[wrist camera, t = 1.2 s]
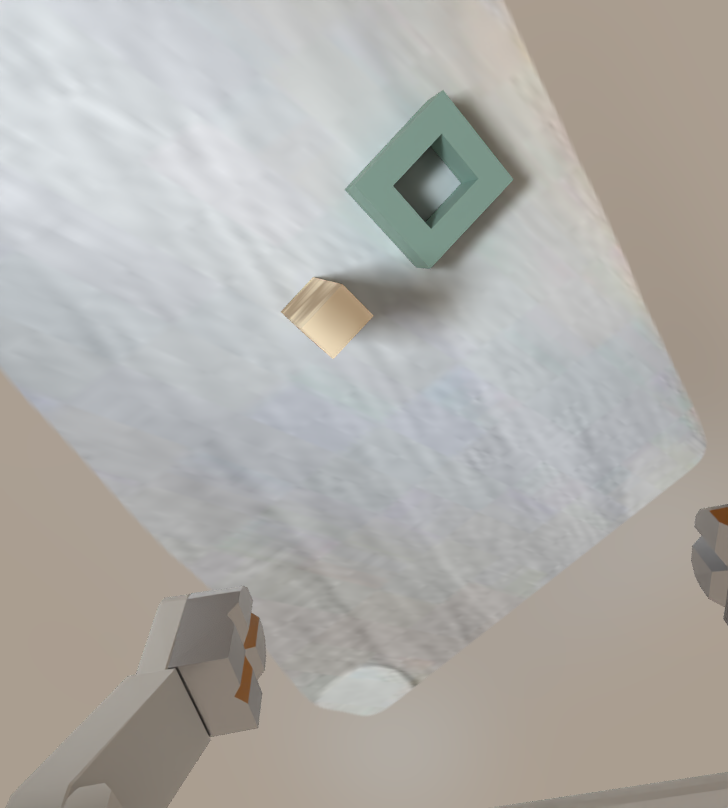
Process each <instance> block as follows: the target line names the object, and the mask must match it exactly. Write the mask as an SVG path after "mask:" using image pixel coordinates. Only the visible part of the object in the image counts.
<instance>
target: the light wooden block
mask: <svg viewBox="0 0 728 808" xmlns="http://www.w3.org/2000/svg"><path fill="white" fill-rule="evenodd" d="M281 312H282V313H283V314H284V315H285V316H286V317H287V318H288V319H289V320H290V321H291V322H292V323H293V324H294V325H295V326H296V327H297V328H299V329H300V330H301V331H302V332H303V333H304V334H305V335H306V336H307V337H308V338H309V339H311V340H312V341H313V342H314V343H315V344H316V345H317V346H319V347H320V348H321V349H322V350H323V351H324V352H326V353H327V354H328V355H329V356H330V357H331V358H333V359H334V358H335V357H336V356H337V355H338V353H339V352H340V351H341V350H342V349H343V348H344V347H345V346H346V345H347V344H348V343H349V342H350V341H351V340H352V338H353V337H354V336H355V335H356V334H357V333H358V332H359V331H360V330H361V329H362V328H363V327H364V326H365V325H366V323H367V322H368V321H369V320H370V319H371V318H372V317H373V315H372V314H371V313H370V312H369V311H368V310H367V309H366V308H365V306H364V305H363V304H362V303H361V302H360V301H359V300H358V299H357V298H356V297H355V296H354V295H353V294H352V293H351V292H350V291H349V290H348V289H347V288H346V287H345V286H344V285H343V284H339V283H335V282H331V281H327V280H323V279H318V278H314V277H313V278H312V279H311V280H310V281H309V282H308V283H307V284H306V285H305V286H304V287H303V289H302V290H301V291H300V292H299V293H298V294H297V295H296V296H295V297H294V298H293V299H292V300H291V301H290V302H289V304H288V305H287V306H286V307H285V308H284V309H283V310H282V311H281Z"/></svg>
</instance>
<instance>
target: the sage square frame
mask: <svg viewBox="0 0 728 808" xmlns="http://www.w3.org/2000/svg"><path fill="white" fill-rule="evenodd" d="M430 146H431V147H432V148H433V150H434V151H435V152H436V153H437V154H438V156H439V157H440V158H441V159H442V160H443V162H444V163H445V164H446V165H447V166H448V168H449V169H450V170H451V171H452V172H453V174H454V175H455V176H456V177H457V178H458V180H459V181H460V182H461V184H460V185H459V187H458V188H457V189H456V190H455V191H454V192H453V193H452V194H451V195H450V196H449V197H448V198H447V199H446V200H445V202H444V203H443V204H442V205H441V206H440V207H439V208H438V209H437V210H436V211H435V212H434V213H433V214H432V215H431V216H430V218H429V219H428V220H427V221H426V222H424V220H423V219H422V218H421V217H420V216H419V215H418V214H417V213H416V211H415V210H414V209H413V208H412V207H411V206H410V205H409V203H408V202H407V201H406V200H405V199H404V198H403V197H402V196H401V194H400V193H399V192H398V191H397V190H396V189H395V188H394V186H393V185H394V184H395V183H396V182H397V181H398V180H399V179H400V178H401V177H402V176H403V175H404V174H405V172H406V171H407V170H408V169H409V168H410V167H411V166H412V165H413V164H414V163H415V162H416V161H417V160H418V159H419V157H420V156H421V155H422V154H423V153H424V152H425V151H426V150H427V149H428V148H429V147H430ZM513 180H514V179H513V178H512V177H511V176H510V174H509V173H508V172H507V171H506V169H505V168H504V167H503V165H502V164H501V163H500V162H499V160H498V159H497V158H496V157H495V155H494V154H493V153H492V152H491V150H490V149H489V148H488V146H487V145H486V144H485V143H484V141H483V140H482V139H481V138H480V136H479V135H478V134H477V133H476V131H475V130H474V129H473V127H472V126H471V125H470V124H469V122H468V121H467V120H466V119H465V117H464V116H463V115H462V114H461V112H460V111H459V110H458V108H457V107H456V106H455V105H454V103H453V102H452V101H451V100H450V98H449V97H448V96H447V95H446V93H445V92H444V91H443V90H442V91H441V92H439V93H438V94H437V95H435V96H434V97H432V98H431V99H429V100H428V101H427V102H426V103H425V104H424V105H423V106H422V107H421V108H420V109H419V110H418V112H417V113H416V114H415V115H414V116H413V117H412V118H411V119H410V120H409V121H408V122H407V123H406V124H405V126H404V127H403V128H402V129H401V130H400V131H399V132H398V133H397V134H396V135H395V136H394V137H393V138H392V139H391V141H390V142H389V143H388V144H387V145H386V146H385V147H384V148H383V149H382V150H381V151H380V152H379V153H378V154H377V156H376V157H375V158H374V159H373V160H372V161H371V162H370V163H369V164H368V165H367V166H366V167H365V168H364V169H363V171H362V172H361V173H360V174H359V175H358V176H357V177H356V178H355V179H354V180H353V181H352V182H351V183H350V185H349V186H348V187H347V188H346V189H345V190H346V191H347V192H348V194H349V195H350V196H351V197H352V198H353V199H354V200H355V201H356V202H357V203H358V204H359V205H360V207H361V208H362V209H363V210H364V211H365V212H366V213H367V214H368V215H369V216H370V217H371V219H372V220H373V221H374V222H375V223H376V224H377V225H378V226H379V227H380V228H381V229H382V231H383V232H384V233H385V234H386V235H387V236H388V237H389V238H390V239H391V240H392V241H393V242H394V244H395V245H396V246H397V247H398V248H399V249H400V250H401V251H402V252H403V253H404V254H405V256H406V257H407V258H408V259H409V260H410V261H411V262H412V263H413V264H414V265H415V266H416V267H417V268H431V267H432V266H433V265H434V264H435V263H436V262H437V261H438V260H439V259H440V258H441V257H442V256H443V254H444V253H445V252H446V251H447V250H448V249H449V248H450V247H451V246H452V245H453V244H454V243H455V242H456V241H457V239H458V238H459V237H460V236H461V235H462V234H463V233H464V232H465V231H466V230H467V229H468V228H469V227H470V226H471V224H472V223H473V222H474V221H475V220H476V219H477V218H478V217H479V216H480V215H481V214H482V213H483V212H484V211H485V210H486V208H487V207H488V206H489V205H490V204H491V203H492V202H493V201H494V200H495V199H496V198H497V197H498V196H499V195H500V193H501V192H502V191H503V190H504V189H505V188H506V187H507V186H508V185H509V184H510V183H511V182H512V181H513Z"/></svg>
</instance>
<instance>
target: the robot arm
mask: <svg viewBox="0 0 728 808" xmlns="http://www.w3.org/2000/svg"><path fill="white" fill-rule="evenodd" d="M695 528H696V529H697V530H698V532H699V533H700V534H701V537H700V538H699V539H698V540H697V541H696V542H695V543H694V545H693V546H692V558H691V559H692V560H691V561H692V565H693V570H694V574H695V577H696V579H697V581H698V583H699V585H700V587H701V589H702V590H703V591H704V593H705V594H706V596H707V597H708V599H710V600H712V601H714V602H716V603H718V604H720V605H722V606H723V607H725V612H724V618H723V619H724V621H725V622H726V623H727V625H728V504H725V505H720V506H714V507H708V508H703V509H700V510H699V511H698V513H697V515H696V519H695ZM252 603H253V599H252V597H251V595H250V592H249V590H248V587H245V586H239V587H232V588H225V589H218V590H211V591H205V592H198V593H191V594H189V595H181V596H174V597H167V598H164V599H163V600H162V602H161V603H160V604H159V606H158V609H157V612H156V615H155V618H154V621H153V624H152V627H151V630H150V633H149V636H148V639H147V642H146V645H145V649H144V651H143V655H142V657H141V661H140V663H139V666H138V670H137V673H136V675H131V676H127V677H126V678H125V679H124V681H122V682H121V683H120V685H119V686H117V687H116V688H115V690H114V691H113V692H112V693H111V694H110V695H109V696H108V697H107V698H106V699H105V700H104V701H103V702H102V703H101V704H100V705H99V706H98V707H97V708H96V709H95V710H94V711H93V712H92V713H91V714H90V715H89V716H88V717H87V718H86V719H85V720H84V721H83V722H82V723H81V724H80V725H79V726H78V727H77V728H76V729H75V730H74V732H72V733H71V734H70V736H68V737H67V738H66V740H65V741H64V742H63V743H62V744H61V745H60V746H59V747H58V748H57V749H56V750H55V751H54V752H53V753H52V754H51V755H50V756H49V757H48V758H47V759H46V760H45V761H44V762H43V763H42V764H41V765H40V766H39V767H38V768H37V769H36V770H35V771H34V772H33V773H32V774H31V775H30V776H29V777H28V778H27V779H26V780H25V781H24V782H23V783H22V784H21V785H20V786H19V787H18V789H16V791H15V792H14V793H13V794H12V795H11V796H10V799H9V801H8V803H7V805H6V808H167V807H168V805H169V804H170V802H171V801H172V799H173V798H174V796H175V795H176V793H177V791H178V790H179V788H180V787H181V785H182V784H183V782H184V781H185V779H186V778H187V776H188V774H189V773H190V771H191V770H192V768H193V767H194V765H195V764H196V762H197V761H198V759H199V757H200V756H201V754H202V753H203V751H204V750H205V748H206V747H207V745H208V744H209V742H210V737H214V736H218V735H224V734H229V733H235V732H240V731H245V730H250V729H256V728H258V725H259V716H260V708H261V699H262V691H261V688H260V686H259V683H258V681H257V680H258V678H259V677H260V676H261V675H262V673H263V672H264V671H265V662H266V645H265V636H264V631H263V627H262V624H261V621H260V618H259V617H258V616H256V615H254V614H253V613H251V610H252ZM492 808H728V772H725V773H718V774H712V775H705V776H698V777H692V778H685V779H679V780H672V781H665V782H659V783H652V784H645V785H639V786H632V787H625V788H619V789H612V790H606V791H599V792H592V793H586V794H579V795H573V796H566V797H559V798H553V799H546V800H539V801H532V802H526V803H519V804H512V805H506V806H499V807H492Z"/></svg>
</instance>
